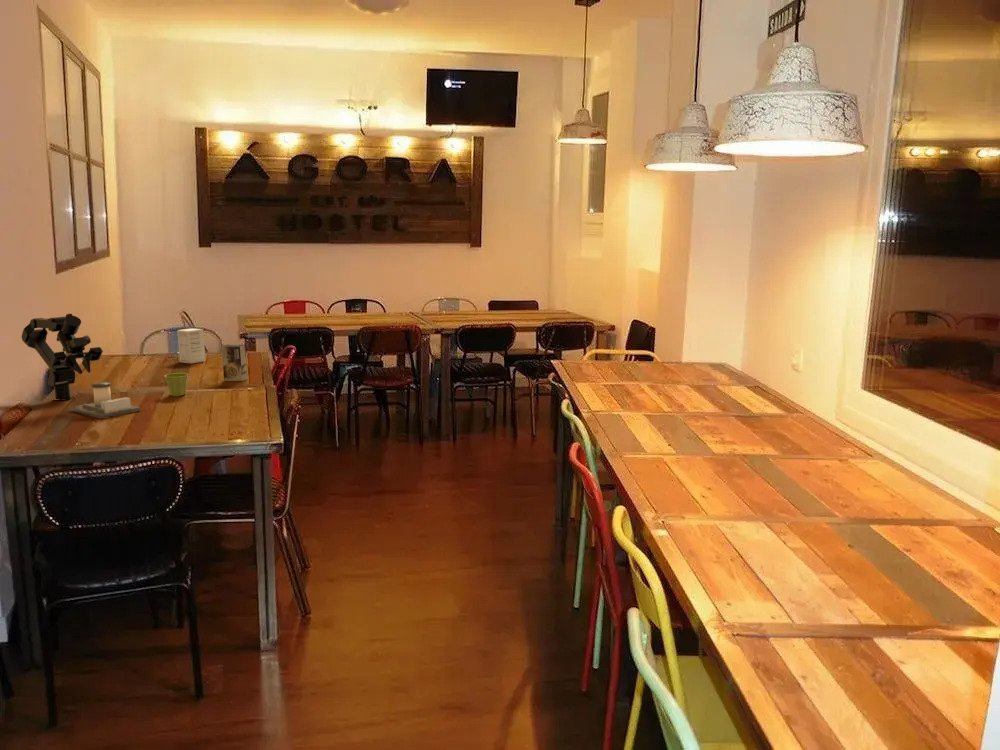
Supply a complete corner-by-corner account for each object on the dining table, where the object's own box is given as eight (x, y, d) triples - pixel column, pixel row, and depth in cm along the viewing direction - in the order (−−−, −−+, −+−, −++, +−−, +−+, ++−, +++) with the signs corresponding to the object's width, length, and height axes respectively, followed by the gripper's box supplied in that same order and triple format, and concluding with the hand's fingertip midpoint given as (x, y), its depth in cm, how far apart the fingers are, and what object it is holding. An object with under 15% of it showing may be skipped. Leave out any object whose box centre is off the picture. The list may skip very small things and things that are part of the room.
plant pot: (164, 398, 341) (163, 377, 339) (167, 393, 350) (165, 373, 348) (188, 396, 343) (187, 376, 342) (190, 392, 352) (189, 372, 351)
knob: (90, 406, 318) (88, 384, 316) (107, 403, 323) (105, 381, 322) (99, 408, 314) (96, 386, 312) (116, 405, 319) (114, 383, 318)
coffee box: (248, 378, 382) (246, 344, 378) (242, 381, 375) (240, 346, 372) (229, 378, 382) (227, 344, 379) (223, 381, 376) (221, 346, 373)
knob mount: (71, 410, 318) (69, 397, 317) (111, 403, 331) (109, 390, 330) (99, 419, 305) (98, 404, 304) (140, 411, 318) (139, 397, 317)
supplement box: (206, 361, 427) (203, 329, 424) (191, 363, 420) (188, 331, 416) (194, 359, 432) (191, 327, 429) (179, 362, 425) (176, 329, 421)
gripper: (50, 332, 316) (67, 363, 312) (98, 327, 331) (114, 356, 326) (43, 350, 322) (59, 381, 318) (90, 344, 337) (106, 374, 332)
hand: (85, 372), depth 323 cm, fingers open, 3 cm apart
